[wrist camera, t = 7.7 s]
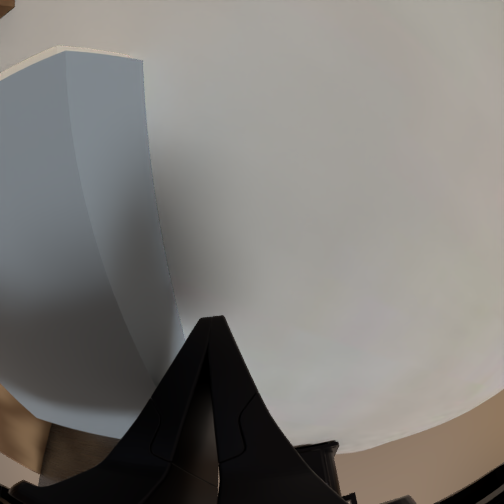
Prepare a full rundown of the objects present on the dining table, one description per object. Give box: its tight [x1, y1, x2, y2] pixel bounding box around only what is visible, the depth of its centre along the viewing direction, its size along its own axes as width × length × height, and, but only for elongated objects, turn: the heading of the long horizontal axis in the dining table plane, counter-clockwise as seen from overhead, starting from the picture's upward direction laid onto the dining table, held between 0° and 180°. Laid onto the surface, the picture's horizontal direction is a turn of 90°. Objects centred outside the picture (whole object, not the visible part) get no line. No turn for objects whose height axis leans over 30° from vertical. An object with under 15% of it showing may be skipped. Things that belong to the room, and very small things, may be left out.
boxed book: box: [0, 45, 185, 439], centre depth 8 cm, size 14×9×4 cm, turn 0°
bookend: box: [38, 423, 120, 487], centre depth 13 cm, size 4×12×9 cm, turn 98°
